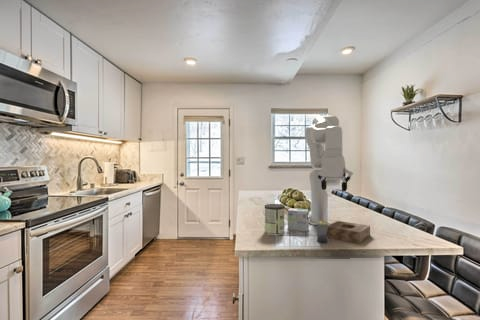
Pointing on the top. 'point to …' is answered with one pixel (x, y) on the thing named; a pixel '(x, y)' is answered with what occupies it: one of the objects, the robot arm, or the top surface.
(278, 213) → the coffee can
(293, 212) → the light bulb box
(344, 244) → the top surface
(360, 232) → the socket
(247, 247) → the top surface
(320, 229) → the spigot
